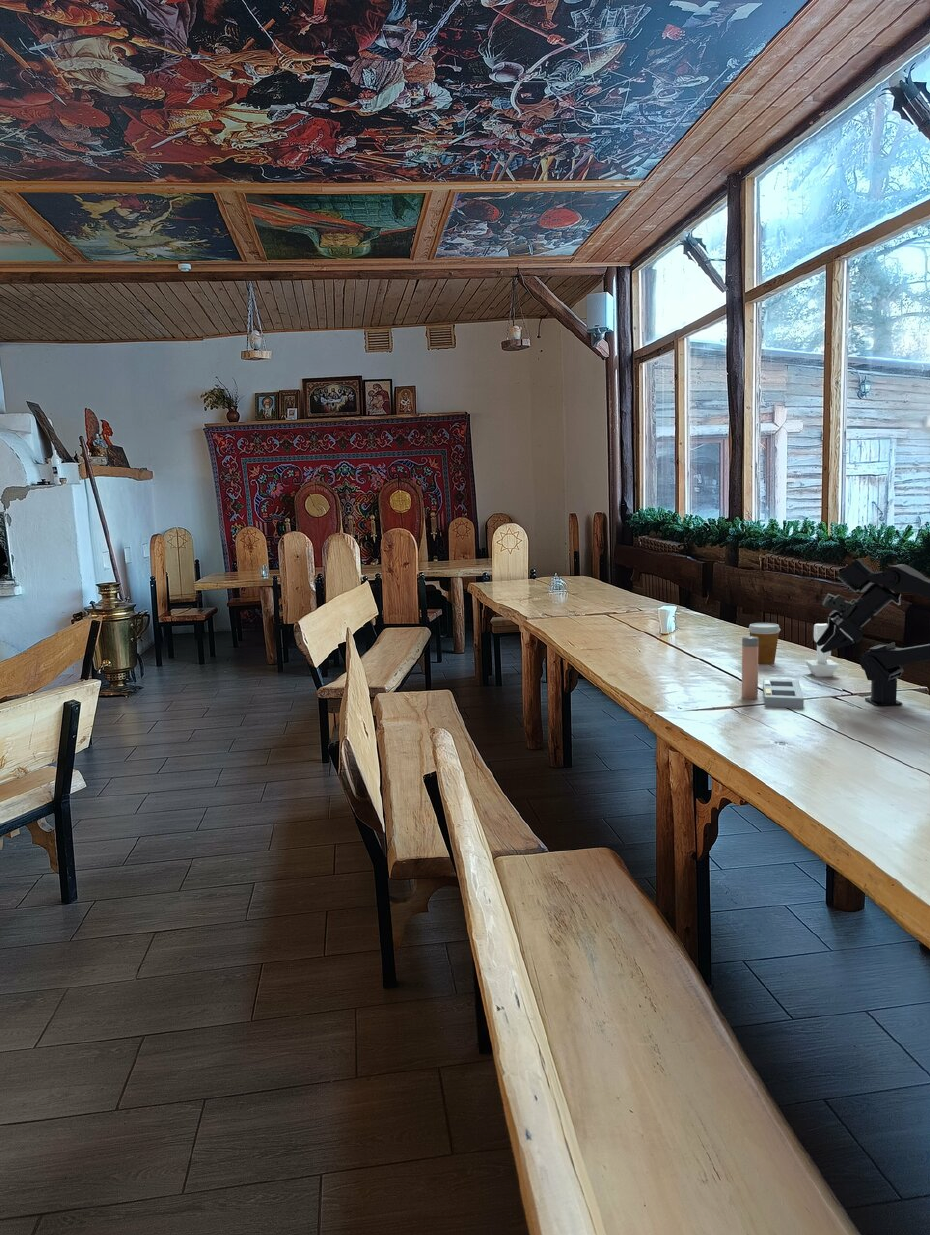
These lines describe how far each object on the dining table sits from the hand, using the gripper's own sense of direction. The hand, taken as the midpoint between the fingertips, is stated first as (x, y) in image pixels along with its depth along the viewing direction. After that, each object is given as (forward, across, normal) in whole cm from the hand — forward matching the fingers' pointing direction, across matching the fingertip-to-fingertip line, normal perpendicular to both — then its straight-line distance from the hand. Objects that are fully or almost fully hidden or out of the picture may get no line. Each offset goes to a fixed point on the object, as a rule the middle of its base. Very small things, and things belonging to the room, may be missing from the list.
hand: (819, 648), depth 204 cm
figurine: (+7, -29, +12) cm, 32 cm away
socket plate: (+16, -1, +3) cm, 16 cm away
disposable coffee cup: (+17, -44, +2) cm, 48 cm away
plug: (+21, 0, -2) cm, 21 cm away
